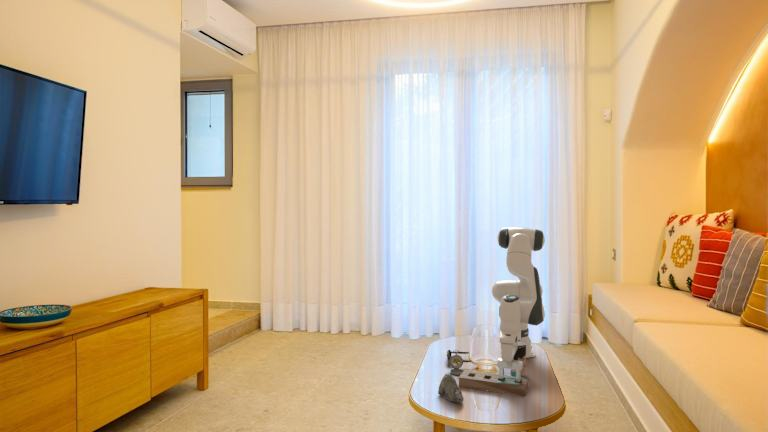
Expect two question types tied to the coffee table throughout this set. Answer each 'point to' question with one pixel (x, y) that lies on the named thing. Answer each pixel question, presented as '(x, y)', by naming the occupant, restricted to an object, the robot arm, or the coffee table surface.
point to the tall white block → (515, 365)
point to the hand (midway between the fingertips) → (510, 366)
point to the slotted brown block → (493, 383)
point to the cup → (520, 358)
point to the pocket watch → (456, 367)
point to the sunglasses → (457, 353)
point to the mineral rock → (450, 389)
